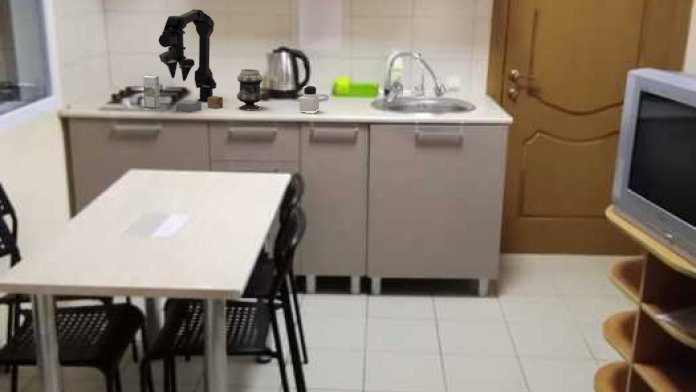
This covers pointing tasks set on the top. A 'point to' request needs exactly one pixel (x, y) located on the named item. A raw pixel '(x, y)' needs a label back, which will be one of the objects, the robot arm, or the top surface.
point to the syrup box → (151, 91)
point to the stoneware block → (188, 106)
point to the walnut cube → (215, 102)
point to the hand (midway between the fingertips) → (178, 79)
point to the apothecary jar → (249, 88)
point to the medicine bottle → (309, 99)
